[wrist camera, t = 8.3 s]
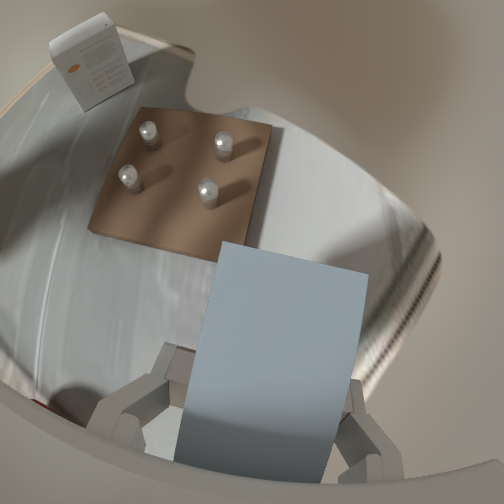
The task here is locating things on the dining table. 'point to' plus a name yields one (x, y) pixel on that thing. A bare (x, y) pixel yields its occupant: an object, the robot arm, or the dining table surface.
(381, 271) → the dining table surface
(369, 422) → the robot arm
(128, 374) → the dining table surface
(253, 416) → the keyed block
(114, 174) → the dowel plate
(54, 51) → the small box
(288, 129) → the dining table surface
